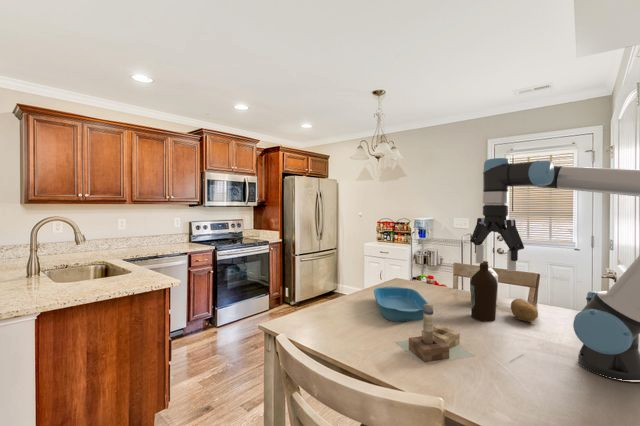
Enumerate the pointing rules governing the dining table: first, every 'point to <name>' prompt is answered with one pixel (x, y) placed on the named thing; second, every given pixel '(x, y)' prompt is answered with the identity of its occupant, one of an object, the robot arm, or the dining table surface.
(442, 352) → the brown square wooden frame
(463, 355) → the pale green flat mat
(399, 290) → the casserole dish
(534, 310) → the potato
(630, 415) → the dining table surface
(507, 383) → the dining table surface
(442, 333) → the light wooden square frame
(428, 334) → the banded wooden cylinder
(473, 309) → the olive oil
